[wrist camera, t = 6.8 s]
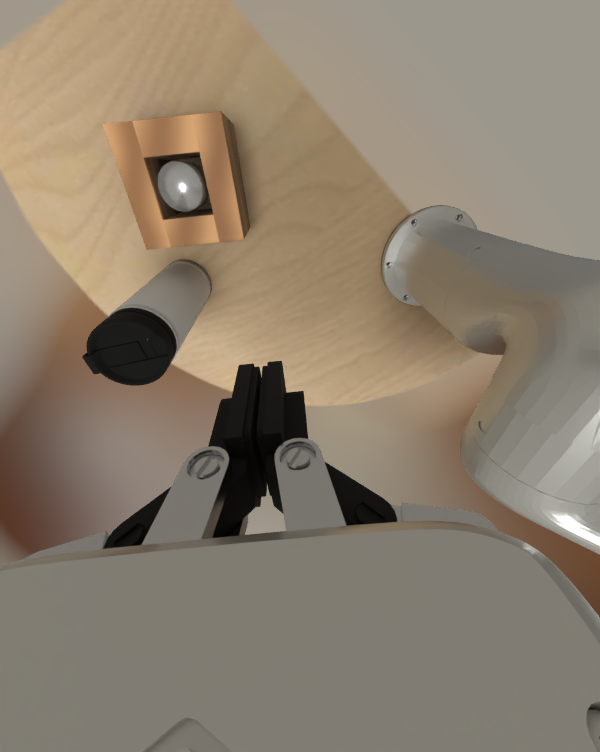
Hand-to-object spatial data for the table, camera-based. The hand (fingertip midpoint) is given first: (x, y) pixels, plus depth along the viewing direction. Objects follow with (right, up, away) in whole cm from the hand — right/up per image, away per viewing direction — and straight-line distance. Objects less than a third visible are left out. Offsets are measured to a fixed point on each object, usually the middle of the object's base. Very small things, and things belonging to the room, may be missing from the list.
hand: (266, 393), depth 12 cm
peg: (-10, +23, +23) cm, 34 cm away
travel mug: (-14, +13, +29) cm, 35 cm away
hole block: (-10, +23, +23) cm, 34 cm away
